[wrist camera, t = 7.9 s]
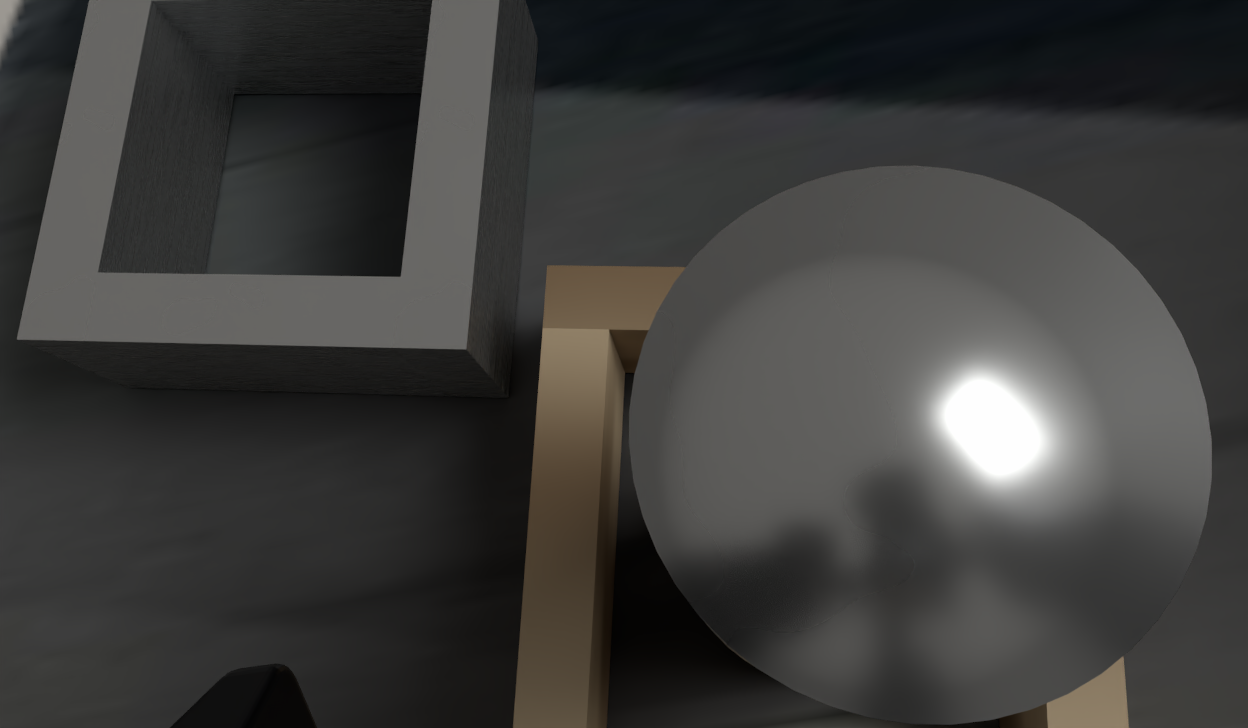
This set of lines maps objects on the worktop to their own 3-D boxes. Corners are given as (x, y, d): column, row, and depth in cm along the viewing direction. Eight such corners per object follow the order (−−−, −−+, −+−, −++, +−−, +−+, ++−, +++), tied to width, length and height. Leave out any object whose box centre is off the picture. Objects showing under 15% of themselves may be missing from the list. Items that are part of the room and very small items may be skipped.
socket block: (508, 398, 18) (466, 349, 15) (127, 387, 19) (16, 339, 16) (538, 41, 20) (504, -63, 17) (189, 44, 20) (101, -55, 17)
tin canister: (897, 700, 16) (1191, 788, 6) (669, 650, 16) (575, 652, 6) (928, 473, 17) (1229, 208, 7) (710, 432, 17) (686, 130, 7)
